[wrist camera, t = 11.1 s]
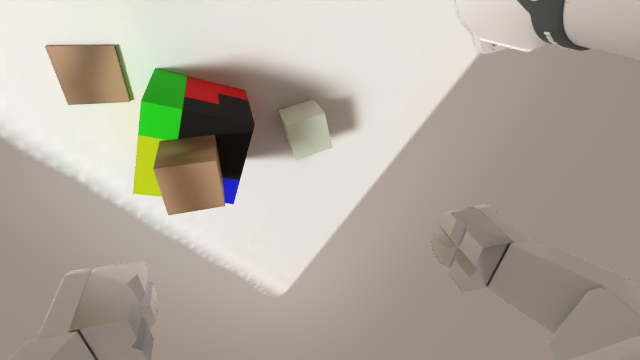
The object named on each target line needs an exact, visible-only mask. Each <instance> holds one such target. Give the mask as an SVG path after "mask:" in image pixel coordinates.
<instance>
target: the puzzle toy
mask: <svg viewBox="0 0 640 360" xmlns="http://www.w3.org/2000/svg"><path fill="white" fill-rule="evenodd" d="M254 125H255V124H254V120H253V117H252V113H251V110H250V106H249V102H248V99H247V95H246V92H245V90H241V89H237V88H233V87H229V86H225V85H221V84H216V83H212V82H208V81H204V80H200V79H196V78H192V77H188V76H184V75H180V74H176V73H172V72H168V71H164V70H160V69H156V68H155V70H154V72H153V74H152V77H151V79H150V82H149V84H148V86H147V89H146V91H145V93H144V96H143V98H142V100H141V109H140V121H139V132H138V144H137V155H136V167H135V178H134V190H133V194H143V195H152V196H162V194H161V191H160V188H159V185H158V182H157V179H156V176H155V173H154V170H153V167H154V163H155V158H156V154H157V150H158V146H159V141H164V140H173V139H182V138H191V137H199V136H208V135H215V139H216V144H217V150H218V155H219V160H220V165H221V170H222V176H223V186H224V198H225V203H229V204H234V200H235V196H236V192H237V189H238V185H239V181H240V177H241V174H242V170H243V166H244V163H245V159H246V155H247V151H248V148H249V144H250V140H251V136H252V133H253V129H254Z"/></svg>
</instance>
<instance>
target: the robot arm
mask: <svg viewBox="0 0 640 360" xmlns="http://www.w3.org/2000/svg"><path fill="white" fill-rule="evenodd" d="M456 5H457V10H458V13H459V16H460V18H461V20H462V22H463V24H464V25H465V26H466V27H467V28H468V30H469V31H470V32H471V33H472V35H473V38H474V43H475V47H476V50H477V51H478V52H479V53H483V54H489V53H493V52H497V51H501V50H505V49H509V48H513V49H517V50H521V51H526V52H531V51H532V50H533V49H537V48H541V47H544V46H547V45H550V44H553V45H556V46H557V47H560V48H565V49H575V50H582V51H583V50H589V49H593V50H597V51H601V52H605V53H609V54H613V55H617V56H620V57H624V58H628V59H632V60H636V61H640V0H456ZM437 222H438V224H439V226H440V227H439V228H438V229H437V230H436V231H435V232H434V233H433V237H432V241H431V243H432V250H433V253H434V255H435V257H436V258H437V260H438V261H439V262H440V263H441V264H443V265H445V266H447V267H448V268H449V276H450V277H451V278H452V280H453V281H454V282H455V284H456V285H457V286H458V288H459V289H460V290H461V292H467V291H472V290H476V289H481V288H486V287H488V290H489V291H491V292H493V293H494V294H496V295H497V296H498V297H500V298H502V299H503V300H504V301H506V302H507V303H509V304H510V305H512V306H513V307H515V308H516V309H518V310H519V311H521V312H523V313H524V314H525V315H527V316H528V317H530V318H531V319H533V320H535V321H536V322H537V323H539V324H541V325H542V326H543V327H545V328H546V329H548V330H549V331H551V332H553V333H554V334H553V336H552V337H551V338H550V339H549V341H548V342H547V344H546V349H547V350H548V352H549V353H550V354H551V355H552V356H553V358H554V359H555V360H640V287H639V286H638V285H636V284H635V283H634V282H632V281H631V280H630V279H628V278H626V277H623V276H621V275H619V274H616V273H614V272H611V271H609V270H607V269H604V268H602V267H600V266H597V265H595V264H593V263H590V262H588V261H585V260H583V259H581V258H578V257H576V256H573V255H571V254H569V253H566V252H564V251H561V250H559V249H557V248H554V247H552V246H550V245H547V244H545V243H543V242H540V241H538V240H535V239H531V240H530V239H529V238H527V237H526V236H525V235H524V234H523V233H522V232H521V231H519V230H518V229H517V228H516V227H515V226H514V225H513V224H511V223H510V222H509V221H508V220H507V219H506V218H505V217H503V215H501V214H500V213H499V212H498V211H497V210H496V209H495V208H493V207H492V206H490V205H487V204H486V205H480V206H474V207H469V208H463V209H457V210H451V211H445V212H443V213H442V214H441V215H440V216H439V219H438V221H437ZM148 273H149V270H148V268H147V265H146V263H145V261H135V262H129V263H121V264H114V265H106V266H99V267H95V268H88V269H81V270H74V271H69V272H68V273H67V274H66V275H65V276H64V277H63V279H62V282H61V284H60V286H59V288H58V291H57V293H56V295H55V297H54V300H53V302H52V304H51V307H50V309H49V311H48V313H47V316H46V318H45V320H44V322H43V325H42V327H41V329H40V332H39V334H38V336H37V338H36V339H35V340H30V341H27V342H26V343H25V344H24V345H23V346H22V347H20V348H19V349H18V350H17V351H16V352H15V353H14V354H12V355H11V356H10V357H9V358H8V359H7V360H151V356H152V348H153V341H154V338H153V336H152V333H151V331H150V328H151V327H152V326H153V325H154V323H155V322H156V317H157V296H156V290H155V287H154V284H153V283H152V282H150V281H148V280H147V279H148Z"/></svg>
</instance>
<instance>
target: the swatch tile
mask: <svg viewBox="0 0 640 360" xmlns="http://www.w3.org/2000/svg"><path fill="white" fill-rule="evenodd" d="M45 48H46V50H47V53H48V55H49V58H50V60H51V63H52V65H53V68H54V70H55V73H56V75H57V78H58V80H59V83H60V85H61V88H62V90H63V93H64V95H65V98H66V100H67V103H68V105H74V104H95V103H116V102H130V97H129V94H128V90H127V87H126V83H125V80H124V76H123V73H122V69H121V66H120V62H119V59H118V55H117V52H116V48H115V45H46V46H45Z"/></svg>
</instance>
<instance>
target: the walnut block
mask: <svg viewBox="0 0 640 360" xmlns="http://www.w3.org/2000/svg"><path fill="white" fill-rule="evenodd" d="M153 170H154V173H155V176H156V179H157V182H158V185H159V188H160V191H161V194H162V197H163V200H164V203H165V206H166V209H167V212H168V215H173V214H179V213H185V212H191V211H197V210H203V209H209V208H216V207H222V206H225V198H224V186H223V176H222V170H221V165H220V160H219V155H218V150H217V144H216V139H215V135H208V136H199V137H191V138H182V139H173V140H164V141H159V146H158V150H157V154H156V158H155V163H154V167H153Z"/></svg>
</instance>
